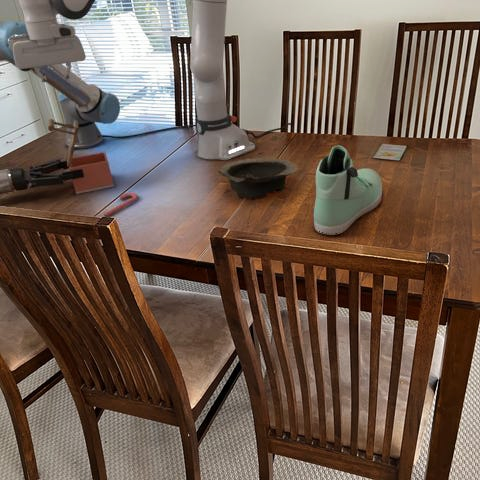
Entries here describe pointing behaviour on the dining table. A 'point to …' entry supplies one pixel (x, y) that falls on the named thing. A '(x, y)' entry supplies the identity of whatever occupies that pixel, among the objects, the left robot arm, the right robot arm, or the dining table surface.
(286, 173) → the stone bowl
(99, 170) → the chest
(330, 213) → the sneaker
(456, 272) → the dining table surface
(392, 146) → the baking ingredient package
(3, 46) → the left robot arm
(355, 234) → the dining table surface
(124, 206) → the candy cane
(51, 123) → the lid
